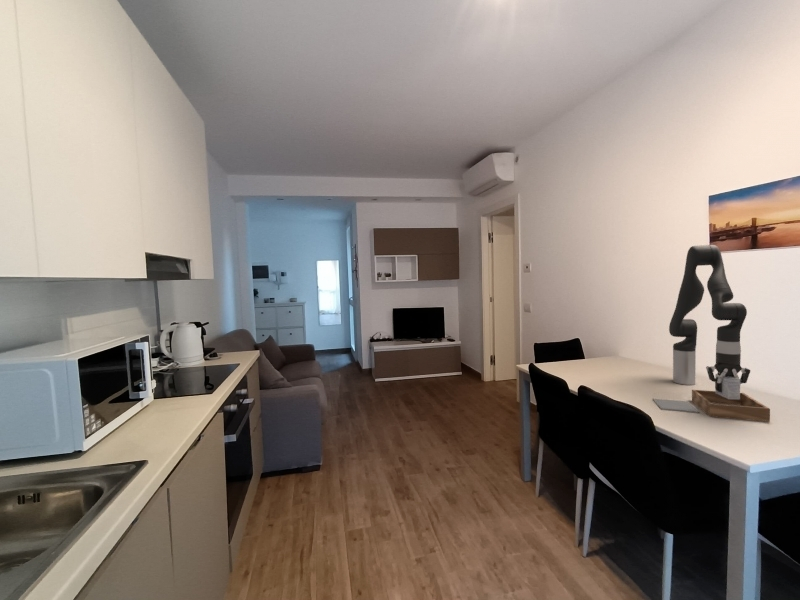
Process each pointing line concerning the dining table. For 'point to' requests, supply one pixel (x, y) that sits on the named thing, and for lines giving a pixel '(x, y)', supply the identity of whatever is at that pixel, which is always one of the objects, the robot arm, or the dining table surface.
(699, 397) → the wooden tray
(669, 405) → the slate mat
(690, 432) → the dining table surface
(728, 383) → the medicine box
